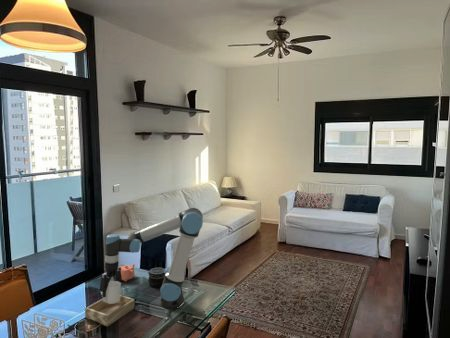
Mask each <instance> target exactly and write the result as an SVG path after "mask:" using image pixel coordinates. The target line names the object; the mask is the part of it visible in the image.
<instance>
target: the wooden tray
mask: <svg viewBox="0 0 450 338" xmlns="http://www.w3.org/2000/svg"><path fill="white" fill-rule="evenodd" d="M135 302H136V301H135V299H134V298H132V297H129V296H125V295H122V294H120V301H119V302H117V303H115V304H108V303H106V302H103V298H100V299H99V300H98V301H96V302H94V303H92V304H90V305H89V306H86V307H85V308H84V319H86V320H88V319H92V320H94V321H96V322H98V323H97V324H99V323H100V324H99V325H102V326H104V327H109V326H112V324H114V323H115V322H117V321H118V320H120V319H121V318H123V317H125V316H126V315H127V314H129V313H130V312H132V311H133V310H134V309H135V304H136V303H135ZM94 321H93V322H94ZM96 322H95V323H96Z"/></svg>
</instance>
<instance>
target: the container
mask: <svg viewBox="0 0 450 338" xmlns="http://www.w3.org/2000/svg"><path fill="white" fill-rule="evenodd" d="M165 269H166V268H163V267H154V268H151V269H150V270H149V271H148V272H147V273H148V279H147V282H148V285H149V286H150V287H152V288H161V287H162V283H163V280H164V274H165V273H164V272H165ZM160 286H161V287H160Z"/></svg>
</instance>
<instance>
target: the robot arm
mask: <svg viewBox="0 0 450 338" xmlns="http://www.w3.org/2000/svg"><path fill="white" fill-rule="evenodd" d="M203 217H204V216H203V213H202V211H201V210H199V208H196V207H191V208H187V209H186V210H183V211H181V212H178V213H177V215H174V216H173V217H170V218H168V219H165V220H163V221H160V222H158V223H155V224H152V225H149V226H148V227H144V228H143V229H140V230H138V231H137V230H135V231H132V232H131V233H130V234H129V236H128V237H127V238H120V235H119V234H117V233H111V234H107V235H106V237H105V244H104V246H105V254H104V261H105V262H104V268H105V272H104V273H101V275H100V277H101V279H100V285H99V292H100V293H101V292H102V295H101V296H102V299H103V302H106V303H107V293H108V291H107V287H108V285H109V282H111V281H112V279H113V281H119V282H120V283H121V284H122V283H123V280H122V278H121V267H122V266H121V267H119V261H120V260H119V259H120V257H119V256H120V255H119V254H120V253H139V252H140V250H141V244H142V243H145V242H148V241H150V240H153V239H155V238H157V237H159V236H162V235H165V234H167V233H170V232H172V231H175V230H177V229H179V230H178V231H179V234H180V235H179V238H178V241H177V243H176V248H175V252H174V254H173V258H172V260H171V264H170V266H169V267H166V268H164V269H165V272H164V273H165V274H164V280H163V283H162V286H161V287H160V291H159V293H160V296H161V298H160V306H161V307H162V308H164V309H168V310H176V309H175V308H177V307H179V306H180V305H181V304H182V303H183V302H184V303H185V301H184V300H185V297H184V293H183V285H184V281H185V276H184V273H185V270H186V267H187V264H188V261H189V258H190V255H191V251H192V248H193V245H194V241H195V239H196V238H198V237H199V234H200V232H201V229H202V227H203V223H204V222H203ZM110 280H111V281H110ZM177 309H178V308H177Z"/></svg>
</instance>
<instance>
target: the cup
mask: <svg viewBox="0 0 450 338" xmlns="http://www.w3.org/2000/svg"><path fill="white" fill-rule="evenodd" d="M121 285H122V282H121V283H120V282H119V281H114V280H111V281H109V285H108V287H107V291H108V293H107V303H108V304H115V303H117V302H119V301H120V295H121V289H122V287H121ZM100 294H101V296H102V292H101V291H100Z"/></svg>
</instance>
